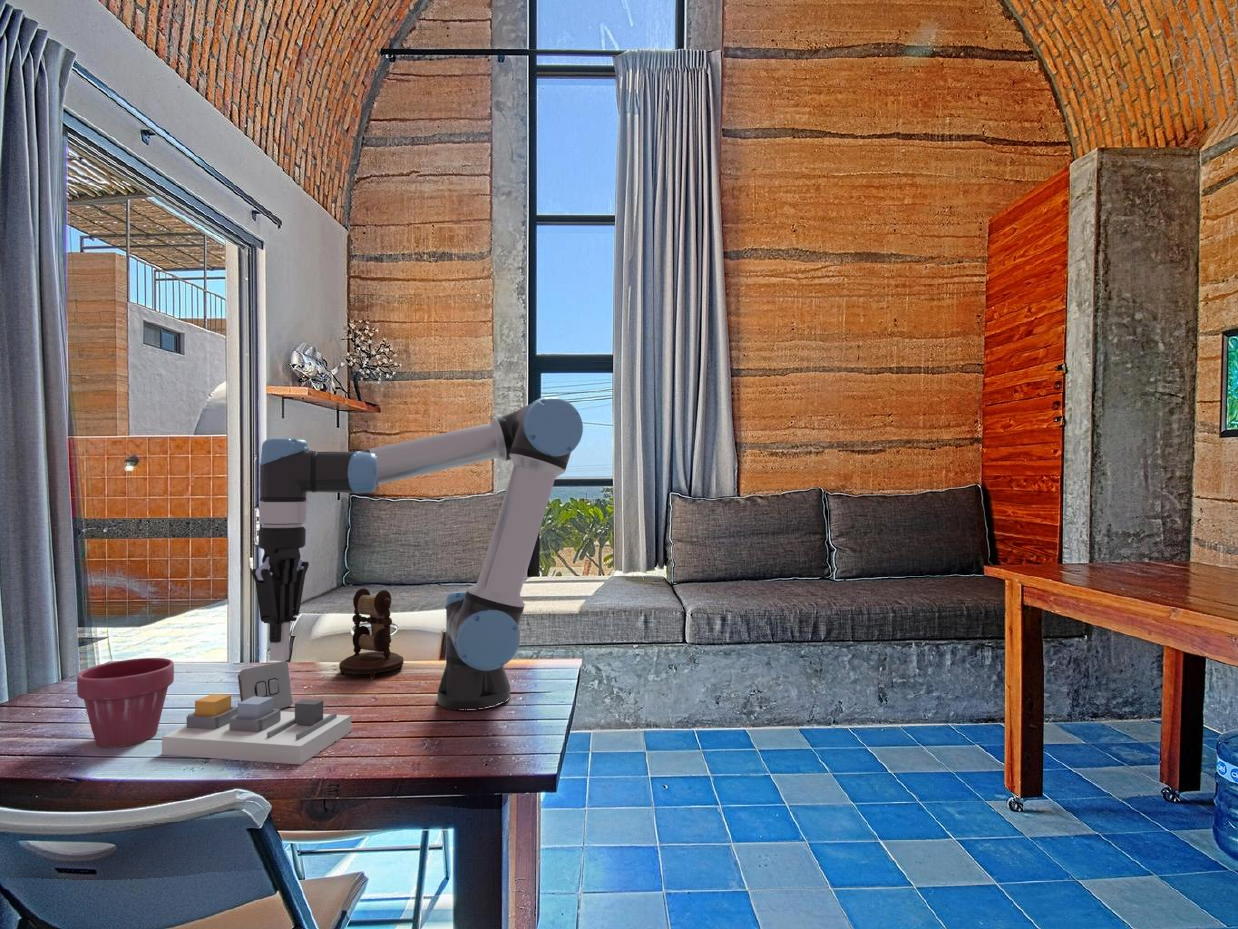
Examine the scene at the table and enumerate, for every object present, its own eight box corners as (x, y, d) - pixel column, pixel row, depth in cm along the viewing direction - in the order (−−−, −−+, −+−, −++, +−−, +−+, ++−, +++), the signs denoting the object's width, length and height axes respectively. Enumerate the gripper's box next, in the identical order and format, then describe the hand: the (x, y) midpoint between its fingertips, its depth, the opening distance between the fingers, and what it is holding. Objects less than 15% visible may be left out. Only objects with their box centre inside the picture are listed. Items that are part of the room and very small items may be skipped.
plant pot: (64, 759, 116) (65, 682, 117) (89, 731, 129) (90, 662, 129) (165, 745, 122) (165, 672, 122) (179, 720, 135) (180, 654, 135)
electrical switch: (246, 719, 136) (244, 670, 137) (234, 716, 139) (233, 668, 140) (293, 707, 143) (291, 661, 144) (281, 704, 146) (280, 659, 147)
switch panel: (351, 731, 128) (351, 704, 128) (300, 764, 114) (300, 733, 114) (226, 724, 133) (226, 697, 133) (161, 754, 118) (162, 724, 118)
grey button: (273, 712, 125) (273, 697, 125) (257, 719, 121) (258, 704, 121) (253, 710, 126) (253, 696, 126) (237, 718, 122) (237, 703, 122)
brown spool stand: (416, 667, 173) (416, 586, 173) (372, 683, 160) (373, 595, 160) (370, 661, 179) (371, 583, 179) (325, 676, 166) (325, 591, 166)
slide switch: (323, 720, 125) (323, 700, 125) (315, 725, 123) (315, 704, 123) (303, 719, 126) (303, 699, 126) (294, 723, 123) (294, 703, 123)
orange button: (231, 709, 127) (231, 695, 127) (214, 716, 123) (215, 702, 123) (211, 708, 127) (211, 694, 127) (194, 715, 123) (195, 701, 123)
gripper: (286, 523, 130) (283, 650, 130) (238, 527, 117) (234, 668, 117) (323, 524, 129) (320, 652, 128) (278, 528, 116) (275, 670, 116)
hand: (279, 659), depth 123 cm, fingers closed
